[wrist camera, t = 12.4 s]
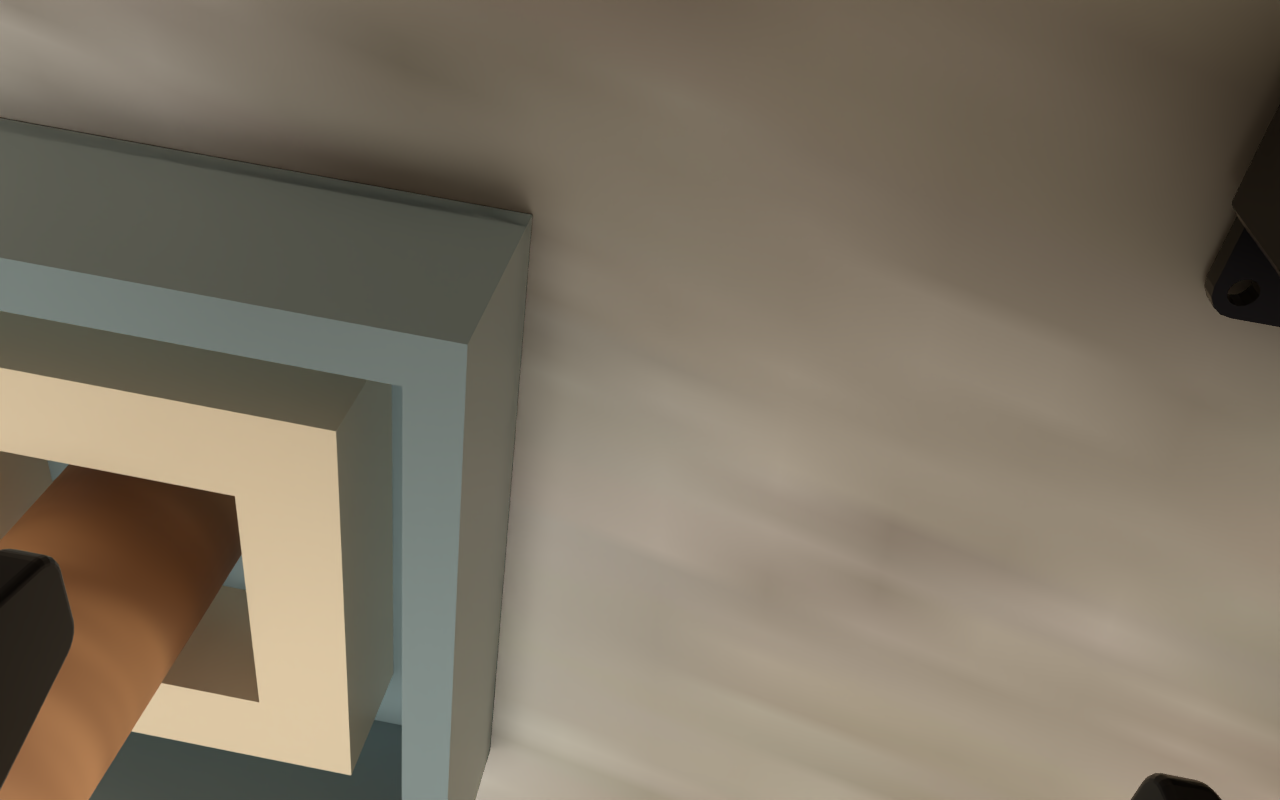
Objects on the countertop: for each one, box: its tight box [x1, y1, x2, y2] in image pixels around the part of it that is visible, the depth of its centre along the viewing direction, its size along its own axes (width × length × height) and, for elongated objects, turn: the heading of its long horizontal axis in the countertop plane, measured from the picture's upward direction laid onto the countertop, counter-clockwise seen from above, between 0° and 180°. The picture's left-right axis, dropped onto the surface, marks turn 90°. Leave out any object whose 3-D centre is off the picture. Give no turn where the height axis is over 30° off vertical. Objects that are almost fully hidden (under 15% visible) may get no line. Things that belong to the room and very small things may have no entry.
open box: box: [0, 118, 532, 800], centre depth 23 cm, size 15×16×4 cm
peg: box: [0, 464, 242, 800], centre depth 21 cm, size 4×4×9 cm
